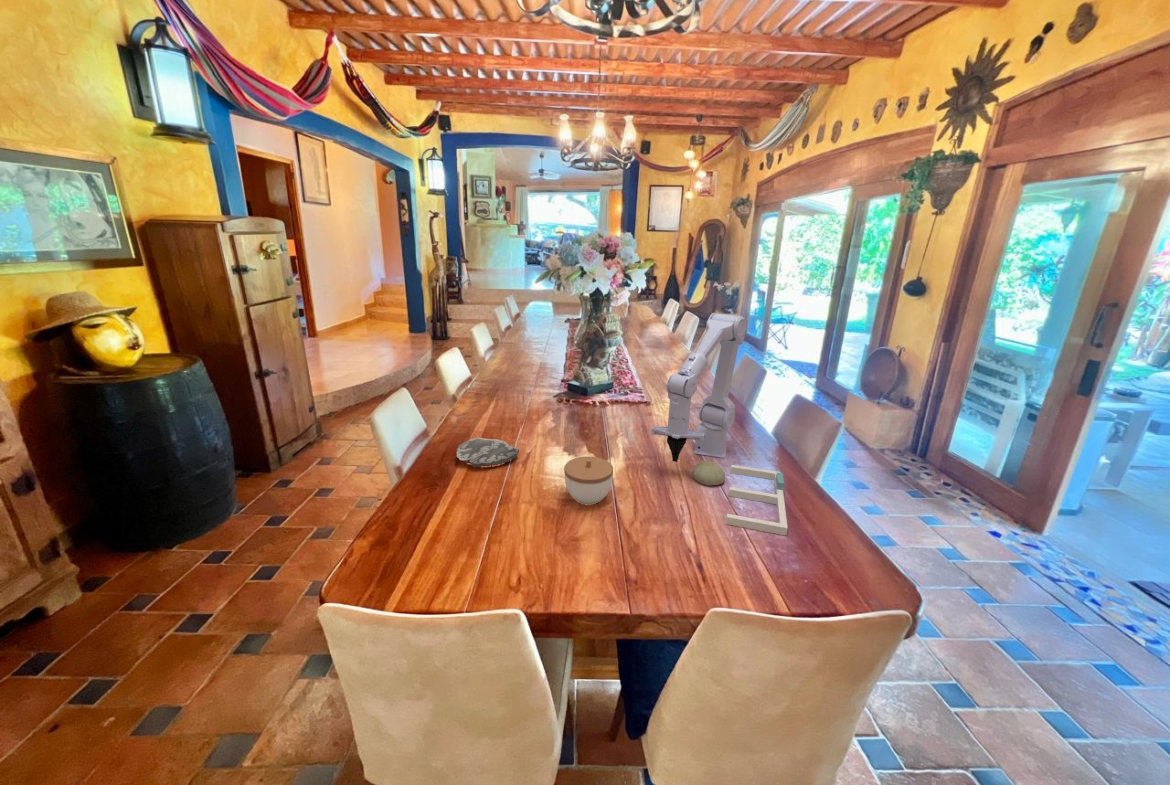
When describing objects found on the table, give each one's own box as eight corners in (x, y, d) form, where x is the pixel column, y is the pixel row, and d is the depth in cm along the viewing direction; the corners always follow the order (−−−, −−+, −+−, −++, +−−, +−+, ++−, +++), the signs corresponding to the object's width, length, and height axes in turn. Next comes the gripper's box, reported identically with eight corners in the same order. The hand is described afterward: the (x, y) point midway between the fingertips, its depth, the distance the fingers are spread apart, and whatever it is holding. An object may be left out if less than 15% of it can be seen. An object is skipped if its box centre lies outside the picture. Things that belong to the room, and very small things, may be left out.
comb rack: (726, 524, 112) (727, 509, 111) (730, 470, 138) (732, 458, 137) (786, 535, 108) (788, 520, 107) (779, 478, 134) (781, 465, 133)
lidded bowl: (577, 516, 115) (577, 476, 111) (556, 492, 125) (556, 455, 122) (621, 503, 120) (622, 465, 117) (597, 481, 131) (598, 446, 127)
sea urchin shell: (726, 467, 136) (727, 458, 129) (723, 493, 133) (724, 485, 126) (694, 462, 139) (693, 453, 132) (690, 488, 136) (689, 479, 129)
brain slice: (441, 463, 141) (441, 454, 140) (478, 442, 155) (478, 434, 155) (493, 479, 133) (493, 469, 132) (527, 455, 147) (527, 446, 146)
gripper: (650, 417, 129) (647, 462, 133) (704, 424, 124) (699, 470, 129) (655, 409, 135) (652, 451, 139) (706, 415, 131) (701, 459, 135)
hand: (675, 460), depth 135 cm, fingers closed
